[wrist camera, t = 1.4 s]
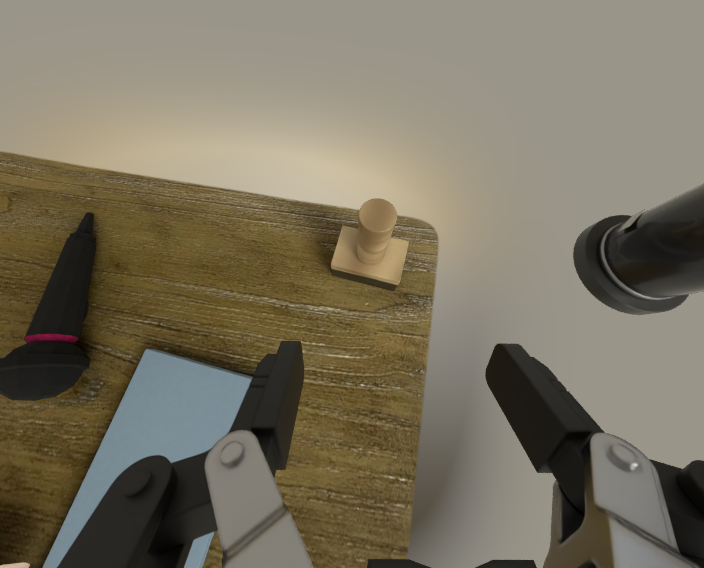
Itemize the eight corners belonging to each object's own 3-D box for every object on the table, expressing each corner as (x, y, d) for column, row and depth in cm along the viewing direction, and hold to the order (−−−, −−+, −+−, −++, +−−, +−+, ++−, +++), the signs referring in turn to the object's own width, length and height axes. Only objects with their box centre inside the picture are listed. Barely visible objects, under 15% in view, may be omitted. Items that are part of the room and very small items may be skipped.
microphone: (103, 234, 33) (58, 402, 25) (39, 207, 27) (-41, 409, 20) (134, 220, 31) (97, 393, 24) (73, 189, 26) (1, 397, 18)
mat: (265, 380, 25) (261, 381, 24) (177, 643, 20) (166, 661, 19) (154, 348, 26) (145, 348, 25) (41, 594, 21) (22, 608, 19)
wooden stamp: (402, 254, 29) (430, 199, 19) (393, 291, 28) (419, 253, 18) (343, 240, 29) (339, 179, 19) (332, 275, 28) (323, 230, 18)
